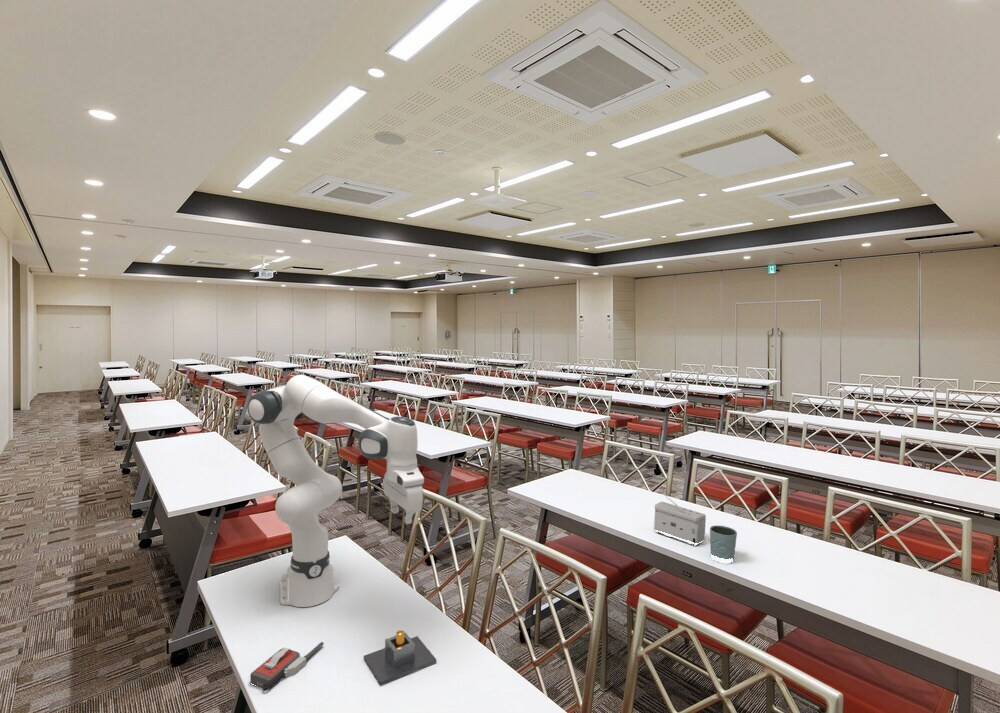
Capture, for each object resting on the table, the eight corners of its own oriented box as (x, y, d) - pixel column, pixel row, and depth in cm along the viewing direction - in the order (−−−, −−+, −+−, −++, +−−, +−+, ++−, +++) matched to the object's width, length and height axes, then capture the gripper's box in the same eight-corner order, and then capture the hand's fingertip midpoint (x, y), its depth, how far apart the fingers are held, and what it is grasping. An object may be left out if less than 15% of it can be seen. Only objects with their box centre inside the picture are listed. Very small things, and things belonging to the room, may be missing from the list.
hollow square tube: (385, 655, 137) (385, 639, 137) (405, 647, 140) (405, 632, 140) (393, 667, 132) (394, 651, 132) (414, 659, 135) (414, 643, 135)
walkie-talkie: (271, 697, 122) (325, 648, 141) (271, 680, 122) (326, 633, 141) (244, 687, 125) (300, 641, 144) (244, 671, 125) (300, 626, 144)
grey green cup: (722, 566, 196) (724, 536, 195) (702, 555, 205) (704, 527, 204) (741, 562, 200) (742, 533, 199) (720, 551, 209) (722, 523, 208)
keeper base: (363, 659, 136) (363, 631, 136) (417, 639, 146) (417, 612, 145) (380, 686, 127) (380, 655, 126) (436, 662, 136) (436, 634, 135)
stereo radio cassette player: (705, 543, 217) (707, 498, 215) (696, 548, 211) (699, 502, 210) (660, 528, 232) (662, 485, 230) (651, 532, 226) (653, 489, 225)
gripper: (378, 464, 154) (378, 508, 155) (406, 483, 138) (405, 532, 139) (397, 462, 158) (397, 504, 159) (427, 479, 141) (426, 527, 142)
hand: (401, 517), depth 149 cm, fingers open, 8 cm apart
